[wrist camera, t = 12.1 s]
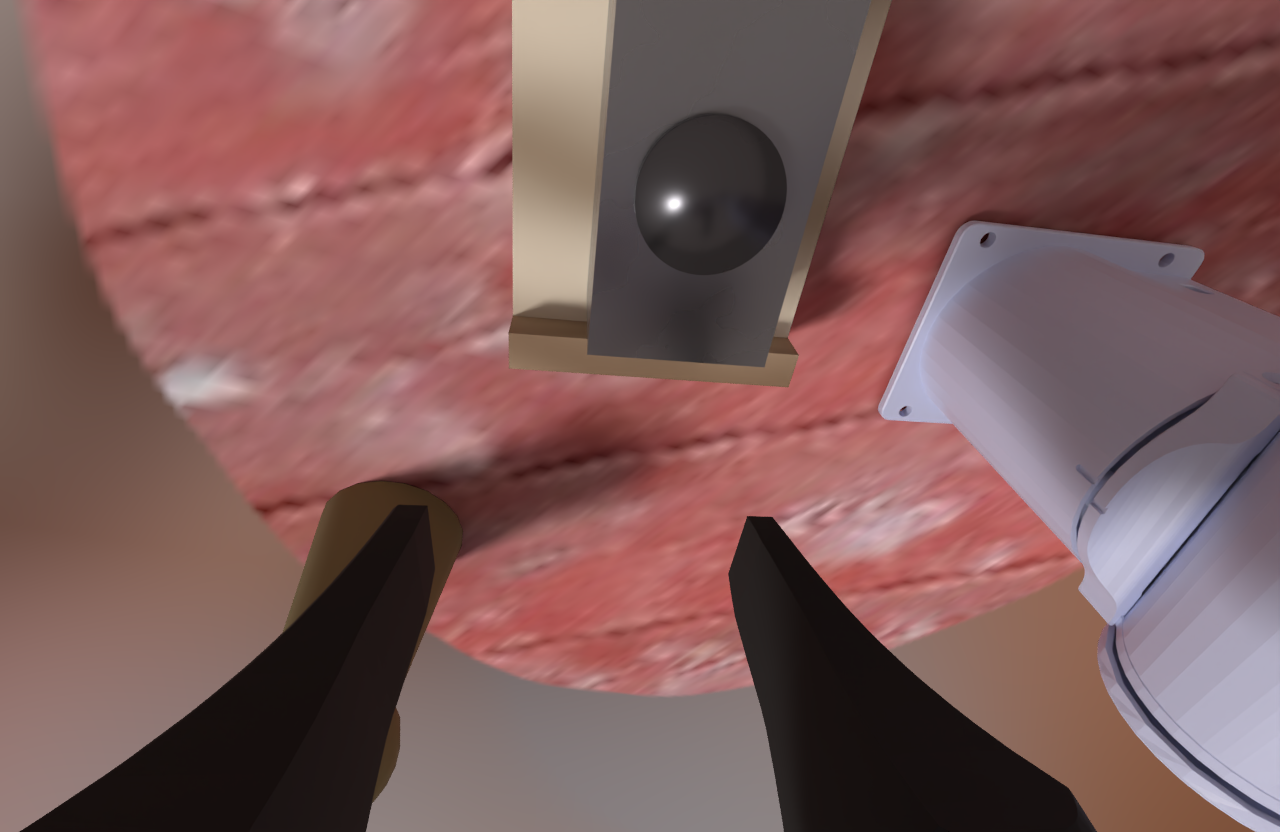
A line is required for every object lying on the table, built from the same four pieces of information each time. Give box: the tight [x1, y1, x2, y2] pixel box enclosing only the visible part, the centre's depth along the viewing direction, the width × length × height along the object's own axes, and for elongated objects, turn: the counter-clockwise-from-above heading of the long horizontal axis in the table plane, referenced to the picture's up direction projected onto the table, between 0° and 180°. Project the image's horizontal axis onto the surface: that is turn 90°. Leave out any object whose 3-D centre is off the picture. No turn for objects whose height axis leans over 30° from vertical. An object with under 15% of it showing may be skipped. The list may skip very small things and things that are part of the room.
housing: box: [587, 0, 871, 367], centre depth 13 cm, size 8×5×4 cm, turn 173°
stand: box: [509, 0, 892, 387], centre depth 15 cm, size 12×9×3 cm
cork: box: [283, 481, 463, 803], centre depth 20 cm, size 6×6×11 cm
